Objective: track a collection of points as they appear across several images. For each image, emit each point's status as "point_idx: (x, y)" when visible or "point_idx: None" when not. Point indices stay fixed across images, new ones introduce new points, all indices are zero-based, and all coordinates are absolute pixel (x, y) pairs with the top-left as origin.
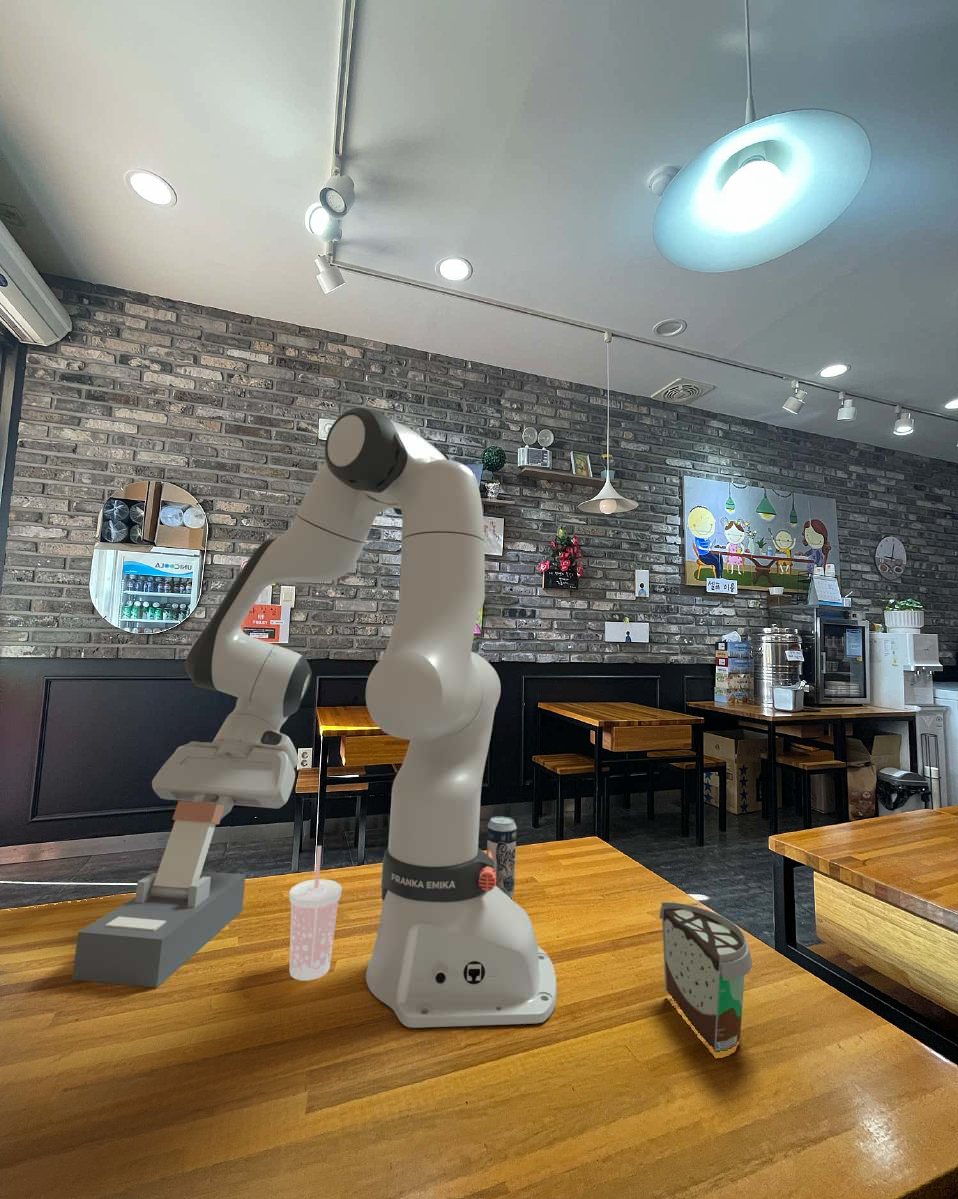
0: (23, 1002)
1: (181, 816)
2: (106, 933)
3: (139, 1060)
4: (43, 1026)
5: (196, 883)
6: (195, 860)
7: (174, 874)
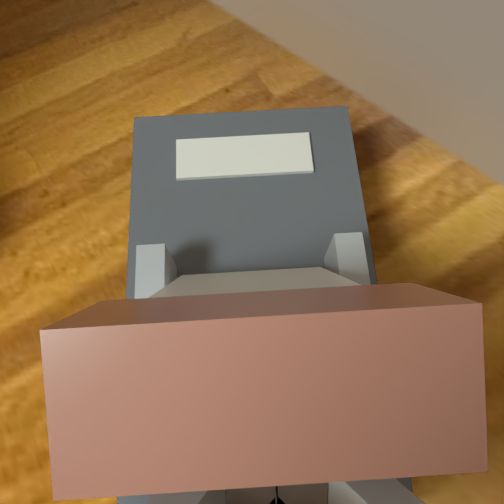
0: (349, 104)
1: (351, 287)
2: (279, 113)
3: (76, 48)
4: (263, 71)
5: (154, 267)
6: (180, 284)
7: (256, 274)
